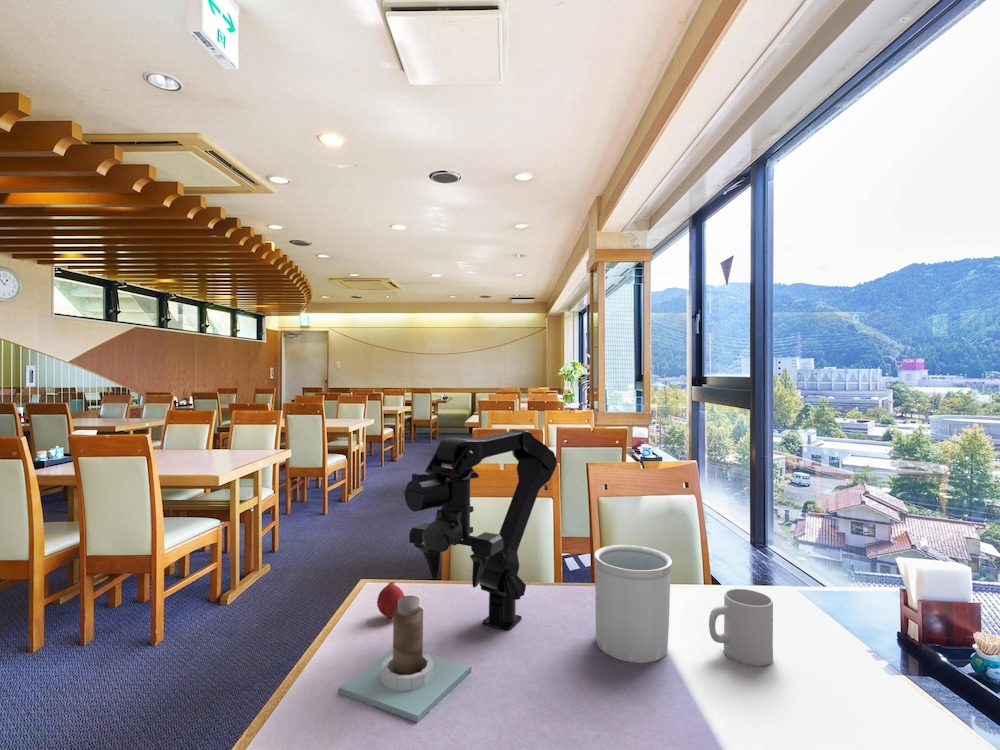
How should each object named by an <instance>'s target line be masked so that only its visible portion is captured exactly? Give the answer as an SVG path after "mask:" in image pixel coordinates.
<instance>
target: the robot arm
mask: <svg viewBox="0 0 1000 750" xmlns="http://www.w3.org/2000/svg"><path fill="white" fill-rule="evenodd" d="M509 452H512V457H513V458H514V459H515V460H516V461H517V465H516V471H517V472H516V473H517V478H518V481H517V485H516V488H515V490H514V493H513V496H512V498H511V502H510V503H509V506H508V509H507V511H506V514H505V517H504V520H503V523H502V524H501V527H500V531H499V533H493V532H483V533H481V534H478V535H477V536H476V535H475V536H474V535H470V534H472V533H474V527H473V526H471V513H472V512H474V506H471V480H472V479H473V480H474V479H478V478H479V476H480V475H479V474H478V473H477V472H476V471H475V470H474V469H473V468H474V467H475V466H478V465H480V463H481V462H482V461H483V460H484V459H486V458H490V457H493V456H497V455H501V454H505V453H509ZM557 465H558V460H557V457H556V454H555V452H554V451H553V450H552V449H551V448H549V447H548V446H547V445H546V444H544V443H543V442H541V441H540V440H539V439H538V438H536V437H534V435H533V434H532V432H530V431H528V430H525V429H511V430H508V431H505V432H500V433H495V434H491V435H487V436H485V435H484V436H481V437H476V438H460V437H445V438H442V439H441V440H440V441H439V444H438V445H437V449H436V451H435V453H434V454H433V456H432V458H431V460H430V462H428V465H427V467H426V468H425V472H414V473H412V474H411V480H410V481H408V483H407V485H406V488H405V490H404V500H405V503H406V505H407V507H408V509H410V510H411V511H412V512H422V511H425V510H430V509H435V508H438V509H437V510H436V514H435V515H436V516H435V519H434V521H432V522H430V523H429V522H423V523H421V524H418V525H416V526H413V527H411V529H410V530H409V532H408V543H411V544H413V545H414V548H417V549H418V550H420V551H421V552H422V554H423V555H424V558H425V560H426V562H427V566H428V569H429V571H430V573H431V577H432V579H433V580H435V579H438V577H439V570H440V562H441V561H440V560H441V553H444V552H446V551H448V549H449V547H450V546H457V545H461V546H468V547H470V549H471V551H472V554H470V555H469V556H470V559H471V561H472V577H471V578H472V581H471V582H472V588H477V586H479V585H480V589H481V591H484V592H487V593H488V616H487V617H485V618H484V619H483V620H482V624H483V625H485V626H490V627H493V628H498V629H502V630H505V631H510V630H511V629H512V628H513V627H514V626H516V625H517V624H518V623H519V622H520V621H521V620H522V615H519V614H517V613H516V610H517V605H516V603H517V602H516V601H517V600H521V597H523V596H525V592H526V588H527V585H526V583H525V582H524V581H523V580H522V579H521V578H520V577H519V575H518V573H519V569H520V561H519V555H518V550H519V548H520V545H521V541H522V539H523V536H524V534H525V531H526V528H527V525H528V522H529V520H530V517H531V513H532V511H533V507H534V505H535V503H536V500H537V497H538V494H539V492H540V489H542V488H543V487H544V486H545V485H546V484H547V483H548V482H550V480H551V479H552V476H553V474H554V472H555V471H556V468H557ZM478 584H479V585H478Z"/></svg>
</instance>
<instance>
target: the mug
mask: <svg viewBox="0 0 1000 750" xmlns="http://www.w3.org/2000/svg"><path fill="white" fill-rule="evenodd" d="M723 598H724V599H723V600H724V601H723V602H724V604H723V605H719V606H716V607H714V608H712V610H711V611H710V614H709V617H708V628H709V634H710V637H711V639H712V640H713V641H714V642H716V643H717V644H718V643H719V644H723V651H724V653H725V655H726V657H728V658H729V659H730V660H733V662H734V661H735V663H739V664H742V665H746V666H749V667H750V666H751V667H766V666H769V665H771V664H772V662H773V660H774V644H773V643H774V635H773V634H774V618H773V617H774V601H773V599H772V598H771V597H770V596H768V595H767V594H765V593H763V592H759V591H756V590H752V589H745V588H733V589H732V588H731V589H729V590H726V591H725V592H724V596H723ZM722 615H723V616H724V617H723V622H724V623H723V627H724V628H723V633H717V631H716V622H717V619H718V617H719V616H722Z"/></svg>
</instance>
